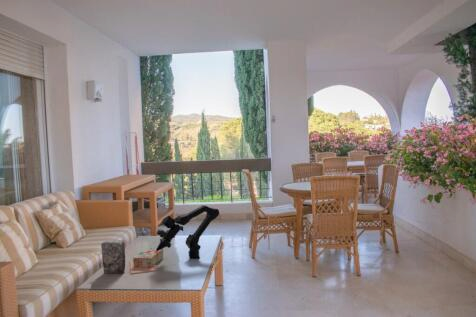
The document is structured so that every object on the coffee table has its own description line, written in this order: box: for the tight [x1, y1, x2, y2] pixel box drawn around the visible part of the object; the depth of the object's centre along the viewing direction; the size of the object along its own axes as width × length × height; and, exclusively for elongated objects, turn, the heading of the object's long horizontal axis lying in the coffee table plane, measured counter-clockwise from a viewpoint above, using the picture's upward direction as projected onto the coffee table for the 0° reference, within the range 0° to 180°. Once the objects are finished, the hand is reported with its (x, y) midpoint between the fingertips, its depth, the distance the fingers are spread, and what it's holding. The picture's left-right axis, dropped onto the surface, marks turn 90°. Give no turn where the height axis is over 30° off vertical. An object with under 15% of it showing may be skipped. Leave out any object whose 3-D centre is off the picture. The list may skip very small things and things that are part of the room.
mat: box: [129, 259, 158, 275], centre depth 245 cm, size 16×26×1 cm, turn 17°
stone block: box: [101, 239, 126, 275], centre depth 234 cm, size 13×7×20 cm, turn 87°
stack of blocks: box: [132, 247, 164, 268], centre depth 251 cm, size 21×6×12 cm
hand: (156, 250), depth 247 cm, fingers closed
